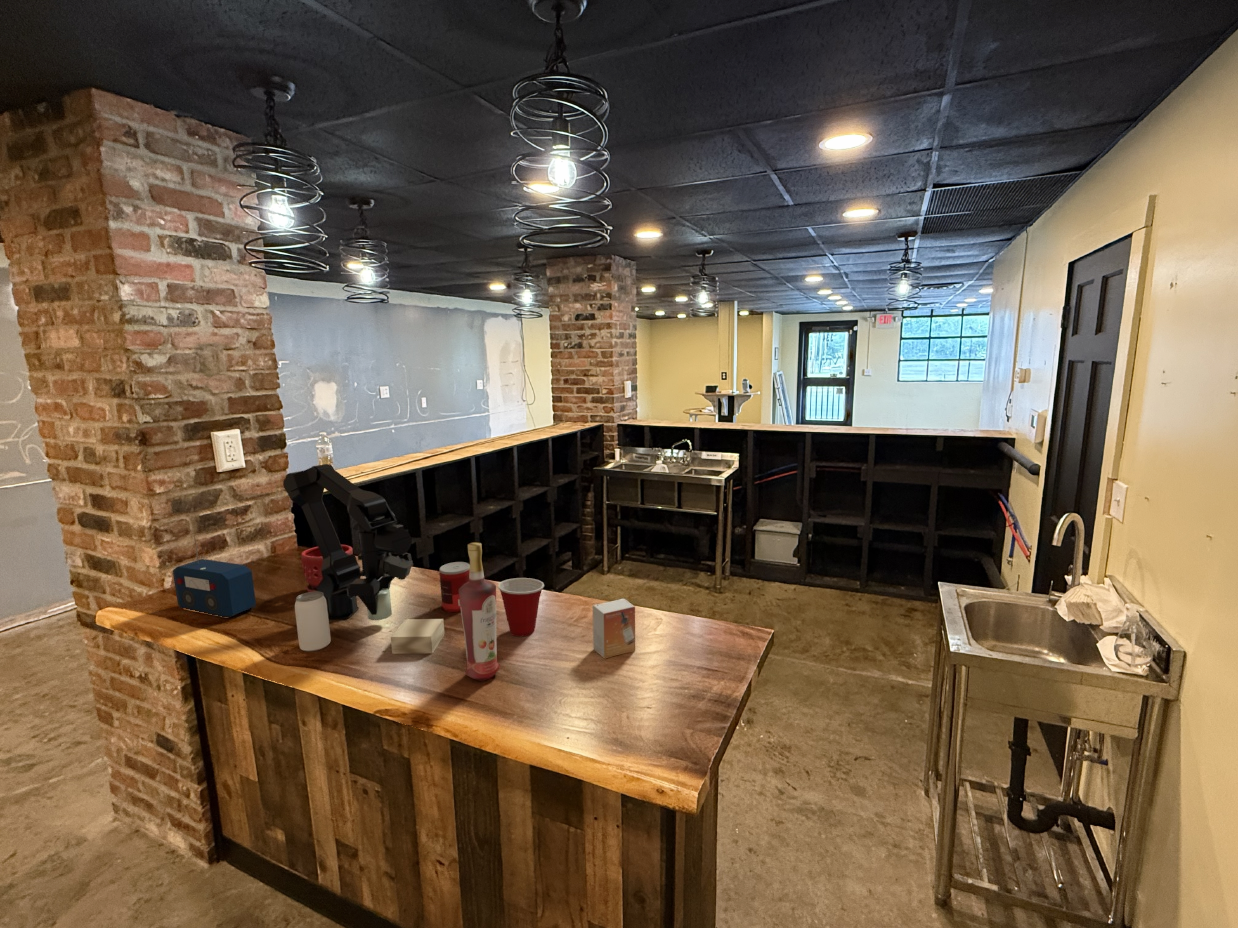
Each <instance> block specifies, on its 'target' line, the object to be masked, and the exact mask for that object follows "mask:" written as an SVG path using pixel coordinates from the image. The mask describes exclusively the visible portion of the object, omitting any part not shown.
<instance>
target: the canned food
mask: <svg viewBox="0 0 1238 928" xmlns="http://www.w3.org/2000/svg"><path fill="white" fill-rule="evenodd" d="M469 575H470V563H469V562H464V561H455V562H449V563H445V564H444V565H441V566H440V567H439V582H440V583H439V584H440V595H441V607H442V609H443V610H444V611H445V612H449V613H458V612H461V607H460V598H459V588H460V587H461V586H463V585H464V584H465V583H467V582H469Z"/></svg>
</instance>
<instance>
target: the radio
mask: <svg viewBox="0 0 1238 928" xmlns="http://www.w3.org/2000/svg"><path fill="white" fill-rule="evenodd" d="M193 539H194V546H195V551H196V552H195V553H196V559H197V560H194V561H191V562H188V563H184V564H182V565H178V566H177V567H175V568H173V569H172V576H173V583H174V587H175V595H176V602H177V605H178V607H180V608H181V609H182V608H186V609H190V610H195V611H199V612H204V613H208V614H212V615H218V616H222V617H230V618H232V617H231V616H233V617H235V616H237V615H239V614H238V613H240V614H242V613H244V612H246V610H247V611H249V610H251V609H253V608H254V607H256V606H257V601H256V595H255V586H254V579H253V578H254V577H253V571H252V569H250V568H249V567H248V566H246V564H239V563H233V562H225V561H219V560H212V559H207V558H201V559H200V558H199V553H198V546H197V540H196V536H195V535H193ZM250 608H251V609H250ZM248 609H249V610H248ZM243 611H244V612H243ZM241 612H242V613H241ZM236 614H237V615H236ZM234 615H235V616H234Z"/></svg>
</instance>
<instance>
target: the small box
mask: <svg viewBox="0 0 1238 928" xmlns="http://www.w3.org/2000/svg"><path fill="white" fill-rule="evenodd" d="M592 637H593V638H592V640H593V641H592V648H593V650H594V651H595V652H596V653H598V654H599V655H600V656H601V657H602V658H603V659H607V658H611V657H615V656H618V655H623V654H627V653H633V652H636V606H634V605H633V604H632V603H630V602H629V601H628V600H627V599H625V598H620V599H615V600H612V601H607V602H603V603H597V604H596V603H595V604H592Z"/></svg>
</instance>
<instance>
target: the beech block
mask: <svg viewBox="0 0 1238 928" xmlns="http://www.w3.org/2000/svg"><path fill="white" fill-rule="evenodd" d="M444 623H445V622H444V618H422V619H421V618H420V619H419V618H417V619H416V618H415V619H413V618H412V619H411V618H410V619H409V618H407V619H404V620H403V622H402V623H401V624H400V625H399V627H398V628H396V630H395V631H394V632H393V634H392V635H391V636H390V645H391V654H392V655H395V654H397V655H398V654H409V655H412V654H433V653H434V651H435V650H436V649H437V647H438V646H439V644H440V642H441V641H442V639H443V638H444V636H445V625H444Z"/></svg>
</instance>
